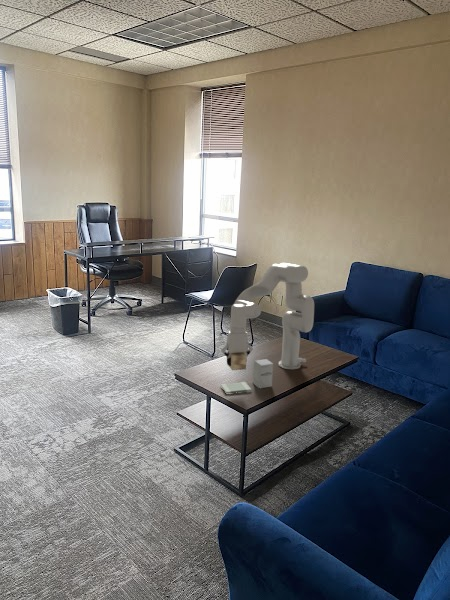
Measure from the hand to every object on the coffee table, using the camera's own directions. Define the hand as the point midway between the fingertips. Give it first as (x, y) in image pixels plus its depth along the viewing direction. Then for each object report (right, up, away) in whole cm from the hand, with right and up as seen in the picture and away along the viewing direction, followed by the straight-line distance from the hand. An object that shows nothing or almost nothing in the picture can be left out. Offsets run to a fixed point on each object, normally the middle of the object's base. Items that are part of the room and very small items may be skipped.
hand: (236, 364), depth 229 cm
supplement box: (+13, -12, +10) cm, 21 cm away
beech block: (0, -1, 0) cm, 1 cm away
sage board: (0, -13, +3) cm, 14 cm away
